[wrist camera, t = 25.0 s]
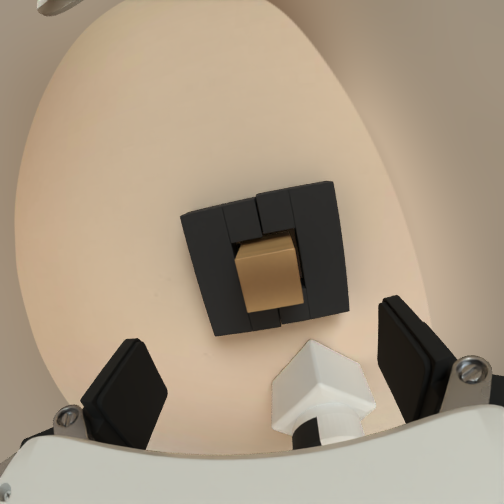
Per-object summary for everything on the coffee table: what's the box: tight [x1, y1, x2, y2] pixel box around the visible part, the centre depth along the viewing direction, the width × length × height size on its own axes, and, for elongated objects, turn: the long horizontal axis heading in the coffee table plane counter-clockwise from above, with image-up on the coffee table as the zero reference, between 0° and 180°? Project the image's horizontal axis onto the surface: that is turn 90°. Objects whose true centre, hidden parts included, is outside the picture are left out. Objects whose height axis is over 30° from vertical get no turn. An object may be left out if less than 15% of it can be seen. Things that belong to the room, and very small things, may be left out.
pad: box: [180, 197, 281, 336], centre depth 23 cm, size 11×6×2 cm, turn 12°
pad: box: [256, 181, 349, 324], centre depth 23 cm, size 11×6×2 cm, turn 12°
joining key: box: [235, 231, 304, 313], centre depth 21 cm, size 4×4×6 cm
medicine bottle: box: [271, 339, 376, 450], centre depth 21 cm, size 7×7×12 cm
